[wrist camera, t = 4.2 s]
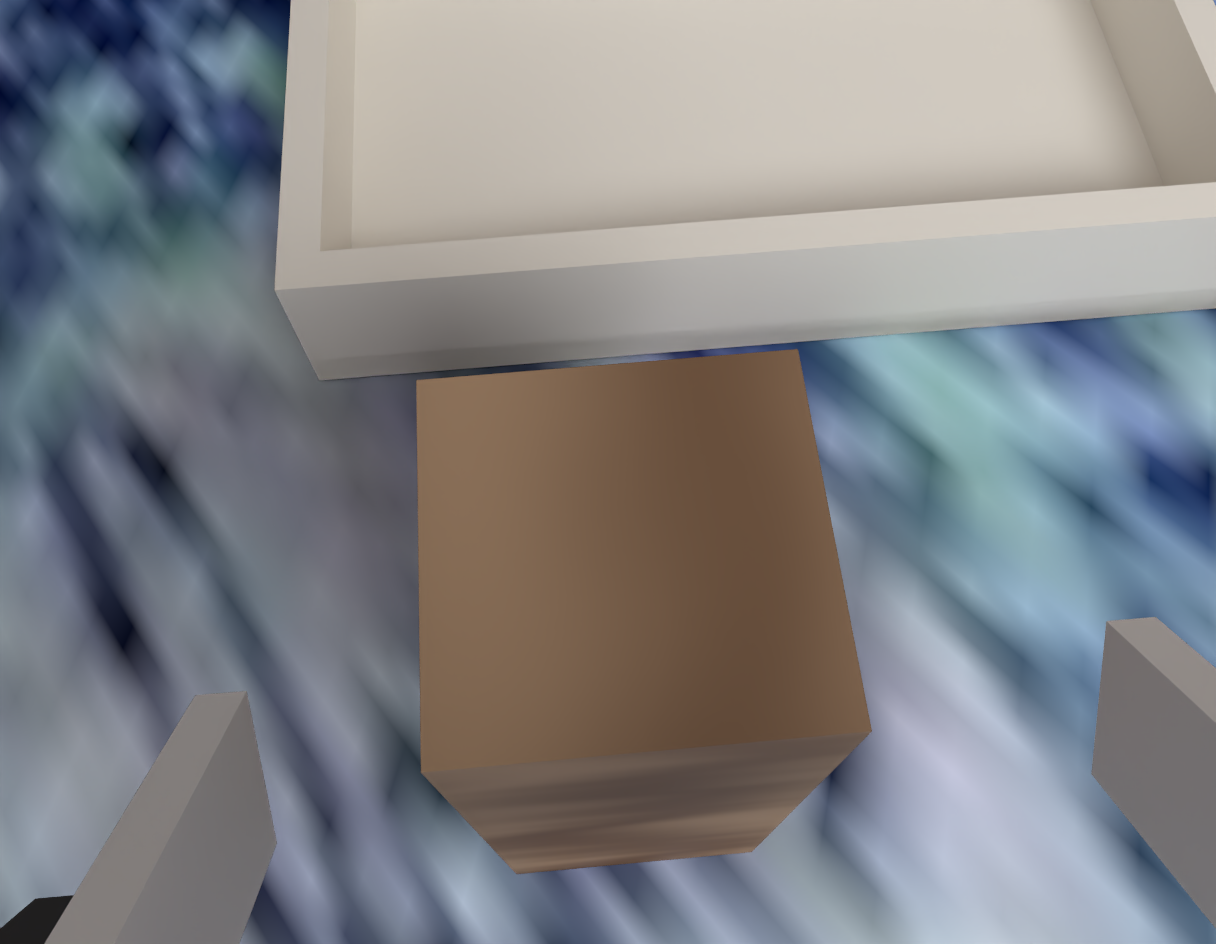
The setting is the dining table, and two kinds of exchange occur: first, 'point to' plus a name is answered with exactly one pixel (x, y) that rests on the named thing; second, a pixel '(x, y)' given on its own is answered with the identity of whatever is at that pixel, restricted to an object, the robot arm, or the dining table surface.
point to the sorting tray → (734, 173)
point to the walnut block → (629, 608)
